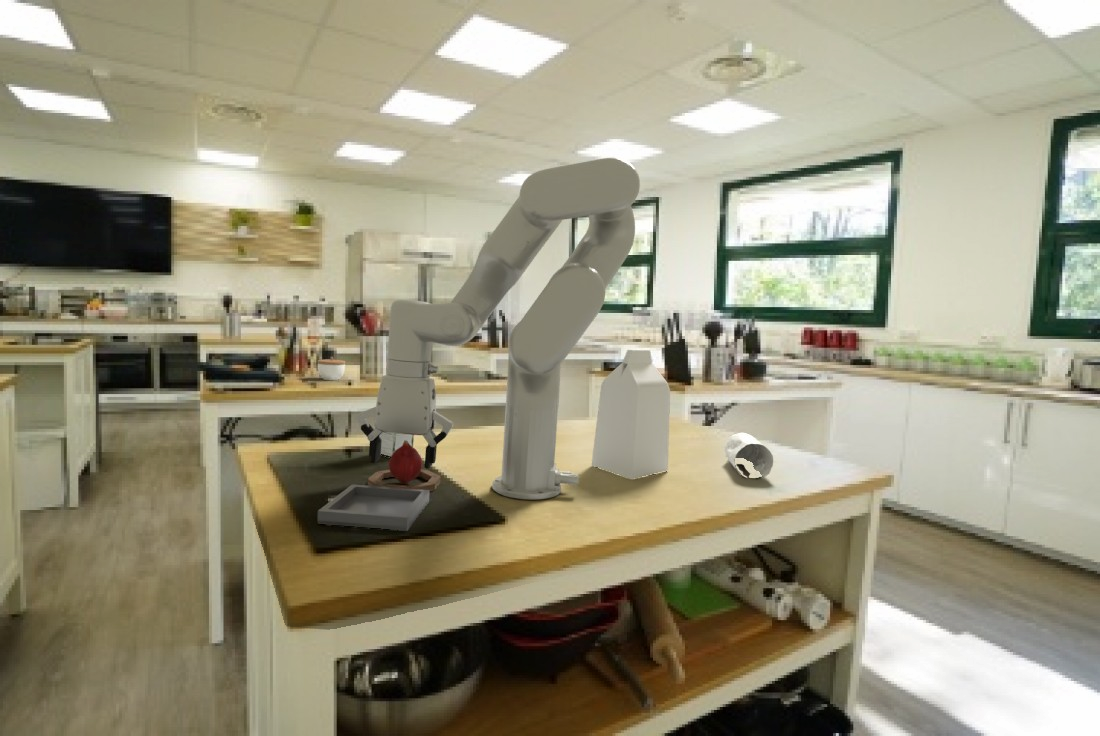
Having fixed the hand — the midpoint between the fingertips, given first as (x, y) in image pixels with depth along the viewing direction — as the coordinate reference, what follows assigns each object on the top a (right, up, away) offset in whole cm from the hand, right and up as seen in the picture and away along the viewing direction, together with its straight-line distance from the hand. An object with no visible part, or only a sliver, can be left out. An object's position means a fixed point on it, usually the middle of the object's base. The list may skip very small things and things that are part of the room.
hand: (402, 464), depth 103 cm
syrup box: (-7, -2, +21) cm, 22 cm away
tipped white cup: (+70, -6, +27) cm, 76 cm away
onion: (0, -4, 0) cm, 4 cm away
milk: (+44, -5, +21) cm, 49 cm away
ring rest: (0, -4, 0) cm, 4 cm away
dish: (0, -5, -15) cm, 15 cm away
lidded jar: (-63, +12, +132) cm, 147 cm away
